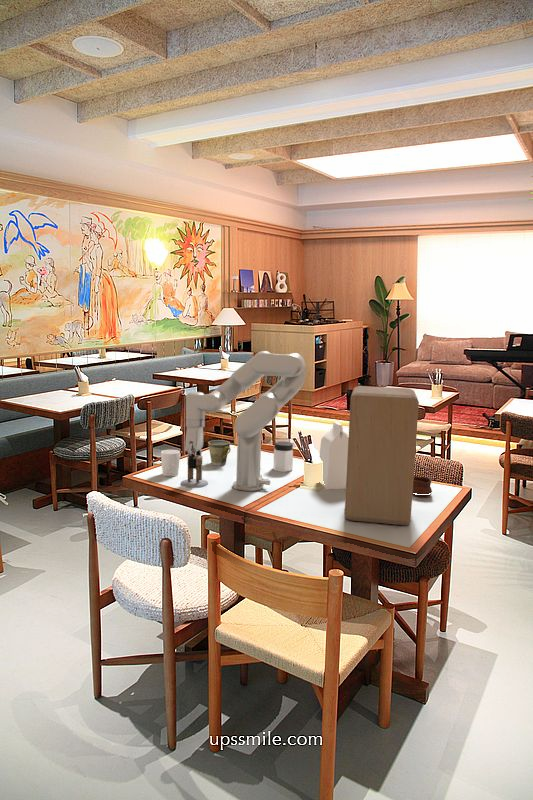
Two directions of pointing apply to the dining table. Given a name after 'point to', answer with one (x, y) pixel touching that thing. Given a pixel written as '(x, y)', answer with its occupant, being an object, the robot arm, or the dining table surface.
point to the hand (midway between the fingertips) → (194, 465)
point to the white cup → (170, 462)
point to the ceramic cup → (219, 451)
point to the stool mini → (198, 470)
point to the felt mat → (194, 483)
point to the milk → (334, 457)
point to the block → (381, 454)
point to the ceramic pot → (421, 487)
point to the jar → (283, 456)
